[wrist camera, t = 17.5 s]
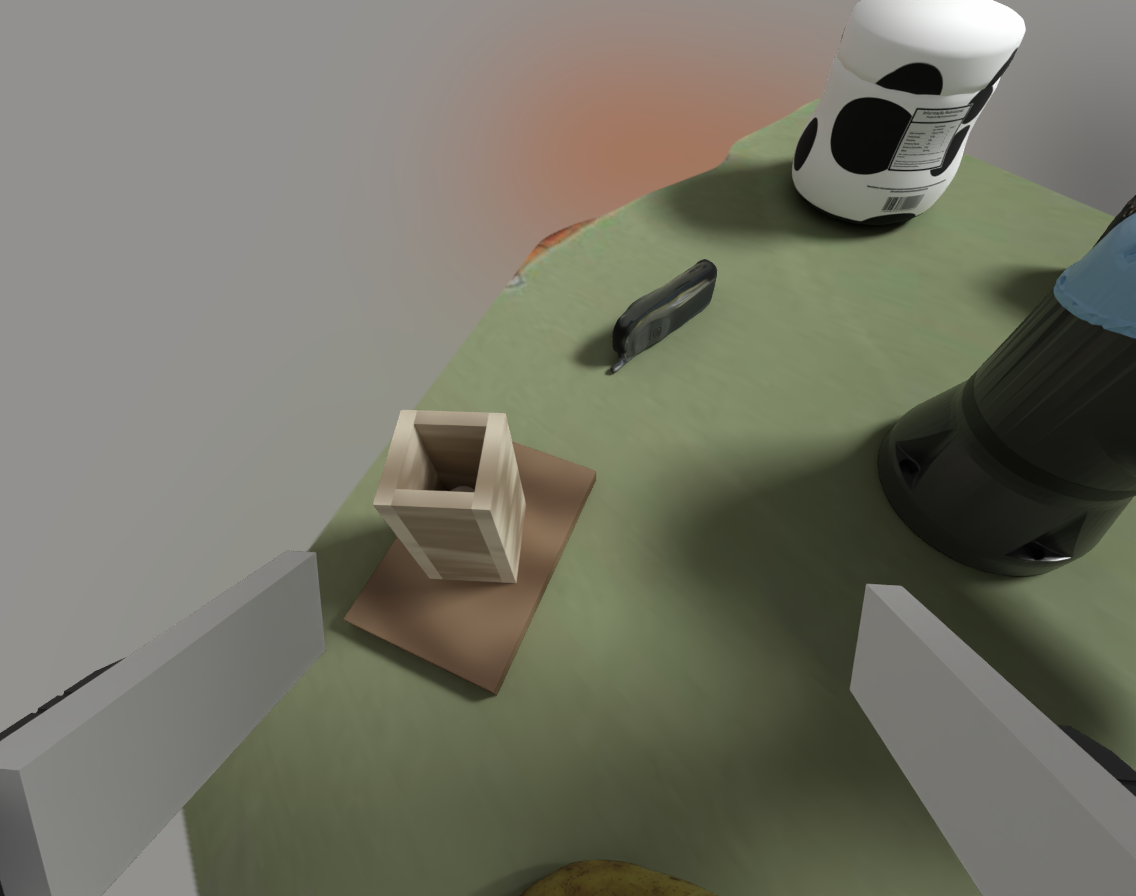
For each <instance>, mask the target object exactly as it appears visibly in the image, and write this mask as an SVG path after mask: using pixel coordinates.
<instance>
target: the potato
mask: <svg viewBox="0 0 1136 896" xmlns="http://www.w3.org/2000/svg"><path fill="white" fill-rule="evenodd" d="M520 896H717V895H715V894H713V893H711V892H709V891H707V890H705V889H703V888H701V887H699V886H696V885H694V884H692V883H689V882H687V881H684V880H682V879H679V878H677V877H674V876H670V875H667V874H663V873H659V872H656V871H652V870H648V869H646V868H643V867H640V866H638V865H635V864H631V863H626V862H620V861H610V860H586V861H580V862H574V863H571V864H569V865H567V866H565V867H562V868H560V869H558V870H557V871H555V872H554V873H552V874H550V875H548V876H546V877H544V878H543V879H541V880H539V881H537V882H536V883H534V884H533V885H531V886H530V887H529V888H527V889H526V890H525V891H524V892H523V893H522V894H521V895H520Z"/></svg>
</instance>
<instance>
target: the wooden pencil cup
mask: <svg viewBox="0 0 1136 896" xmlns="http://www.w3.org/2000/svg"><path fill="white" fill-rule="evenodd" d="M459 486H468V487H471V488H473V489H474V490H475V492H451V490H452V489H454V488H456V487H459ZM373 506H374V507H375V508H376V509H377V511H378V512H379V513H380V515H381V516H382V517H383V519H384V520H385V521H386V522H387V524H388V525H389V526H390V528H391V529H392V530H393V532H394V533H395V534H396V535H397V537H398V538H399V539H400V541H401V542H402V543H403V545H404V546H405V547H406V548H407V550H408V551H409V552H410V554H411V555H412V556H413V558H414V559H415V560H416V561H417V563H418V564H419V565H420V567H421V568H422V569H423V571H424V572H425V573H426V574H427V576H428V577H429V578H430V579H446V580H464V581H482V582H501V583H516V581H517V573H518V565H519V557H520V549H521V540H522V532H523V524H524V516H525V508H526V502H525V498H524V493H523V489H522V484H521V480H520V475H519V471H518V466H517V462H516V457H515V453H514V449H513V444H512V440H511V435H510V431H509V426H508V422H507V417H506V413H480V412H450V411H420V410H401V412H400V415H399V419H398V422H397V425H396V429H395V432H394V435H393V439H392V442H391V445H390V449H389V452H388V455H387V459H386V462H385V466H384V469H383V472H382V476H381V479H380V482H379V486H378V489H377V492H376V496H375V499H374V502H373Z"/></svg>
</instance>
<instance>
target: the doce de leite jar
mask: <svg viewBox="0 0 1136 896" xmlns="http://www.w3.org/2000/svg"><path fill="white" fill-rule="evenodd" d="M1025 30H1026V29H1025V25H1024V20H1023V18H1022V17H1020V16H1019V15H1018V14H1017V13H1016V12H1015V11H1013V10H1012V9H1011V8H1009V7H1007V6H1005V5H1002V4H1000V3H998V2H996V1H993V0H861V1H860V2H858V3H857V4H856V6H855V8H854V9H853V11H852V13H851V16H850V18H849V20H848V23H847V25H846V27H845V29H844V32H843V35H842V39H841V43H840V47H839V49H838V51H837V53H836V55H835V57H834V60H833V63H832V66H831V69H830V72H829V75H828V79H827V82H826V85H825V88H824V91H823V94H822V97H821V99H820V101H819V104H818V106H817V108H816V109H815V111H814V113H813V114H812V116H811V118H810V119H809V121H808V122H807V124H806V126H805V128H804V129H803V131H802V133H801V135H800V138H799V140H798V143H797V146H796V149H795V153H794V159H793V166H792V178H793V183H794V186H795V188H796V190H797V192H798V193H799V195H800V196H801V197H802V198H803V199H804V200H806V201H807V202H808V203H809V204H810V205H811V206H812V207H813V208H815V209H817V210H819V211H821V212H823V213H825V214H827V215H828V216H830V217H833V218H836V219H840V220H844V221H847V222H851V223H854V224H869V225H884V224H891V223H899V222H903V221H907V220H910V219H912V218H914V217H916V216H918V215H920V214H922V213H923V212H925V211H926V210H927V209H929V208H930V207H931V206H932V205H933V204H934V203H935V202H936V200H937V199H938V198H939V197H940V196H941V195H942V193H943V192H944V191H945V190H946V188H947V187H948V185H949V184H950V182H951V181H952V179H953V178H954V176H955V174H956V172H957V170H958V167H959V165H960V162H961V159H962V155H963V152H964V148H965V145H966V141H967V138H968V136H969V133H970V131H971V129H972V127H973V125H974V123H975V122H976V120H977V118H978V116H979V115H980V113H981V111H982V110H983V108H984V107H985V105H986V103H987V102H988V100H989V99H990V97H991V96H992V94H993V92H994V91H995V89H996V87H997V85H998V83H999V80H1000V77H1001V76H1002V74H1003V73H1004V72H1005V70H1006V69H1007V67H1008V66H1009V64H1010V63H1011V61H1012V59H1013V57H1014V55H1015V53H1016V51H1017V49H1018V47H1019V45H1020V43H1021V41H1022V38H1023V35H1024V33H1025Z"/></svg>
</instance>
